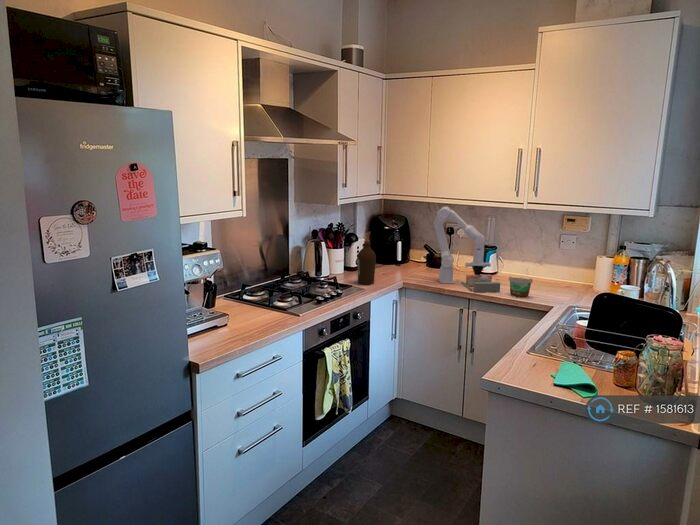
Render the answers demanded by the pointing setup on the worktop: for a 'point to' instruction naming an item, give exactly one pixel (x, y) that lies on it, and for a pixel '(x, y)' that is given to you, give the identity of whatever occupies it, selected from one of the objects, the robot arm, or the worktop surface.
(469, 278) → the clamp jaw
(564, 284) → the worktop surface
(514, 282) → the food container
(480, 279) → the steel block
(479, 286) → the vise
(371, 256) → the olive oil
